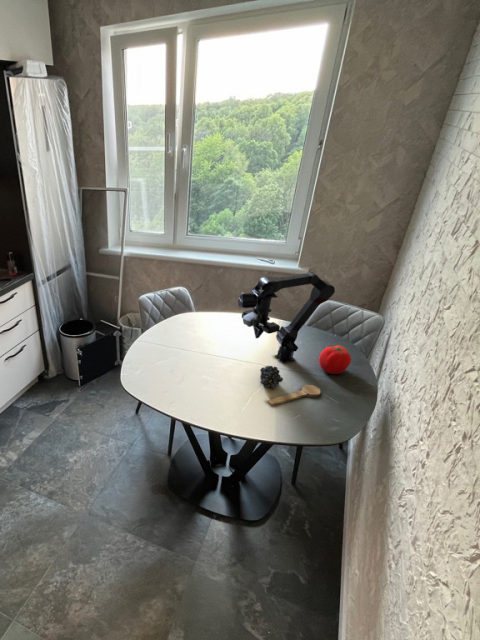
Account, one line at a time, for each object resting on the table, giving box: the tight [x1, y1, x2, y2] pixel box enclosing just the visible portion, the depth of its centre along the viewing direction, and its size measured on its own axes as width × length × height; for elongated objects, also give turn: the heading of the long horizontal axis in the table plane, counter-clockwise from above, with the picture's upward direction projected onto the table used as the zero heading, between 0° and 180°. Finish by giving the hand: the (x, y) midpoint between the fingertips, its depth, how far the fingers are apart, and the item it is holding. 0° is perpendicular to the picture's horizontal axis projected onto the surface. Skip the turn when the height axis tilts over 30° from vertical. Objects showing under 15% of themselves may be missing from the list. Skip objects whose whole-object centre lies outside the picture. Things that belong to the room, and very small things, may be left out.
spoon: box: [267, 384, 322, 407], centre depth 164 cm, size 24×7×1 cm, turn 109°
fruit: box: [259, 365, 284, 389], centre depth 172 cm, size 9×8×15 cm
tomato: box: [318, 344, 352, 375], centre depth 176 cm, size 12×13×12 cm
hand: (256, 338), depth 182 cm, fingers closed
